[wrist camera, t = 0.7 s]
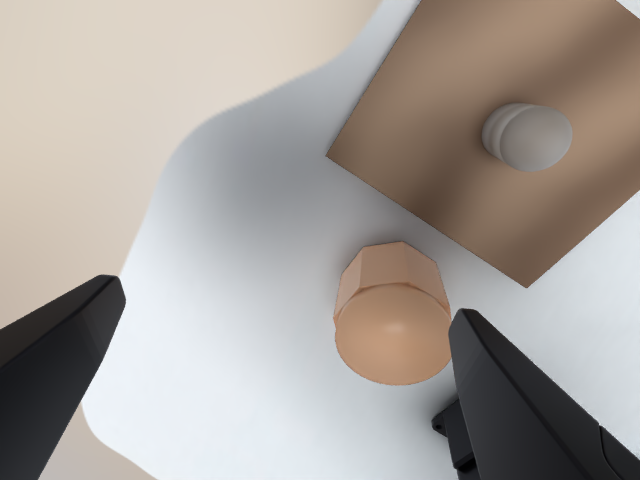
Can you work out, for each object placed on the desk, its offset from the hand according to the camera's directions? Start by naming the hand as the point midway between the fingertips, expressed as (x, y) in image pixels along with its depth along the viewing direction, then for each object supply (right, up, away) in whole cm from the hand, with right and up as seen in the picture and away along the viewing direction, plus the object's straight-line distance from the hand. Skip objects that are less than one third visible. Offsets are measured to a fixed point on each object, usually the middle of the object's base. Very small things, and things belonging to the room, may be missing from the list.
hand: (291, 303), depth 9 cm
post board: (+10, +7, +8) cm, 15 cm away
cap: (+5, -1, +13) cm, 14 cm away
